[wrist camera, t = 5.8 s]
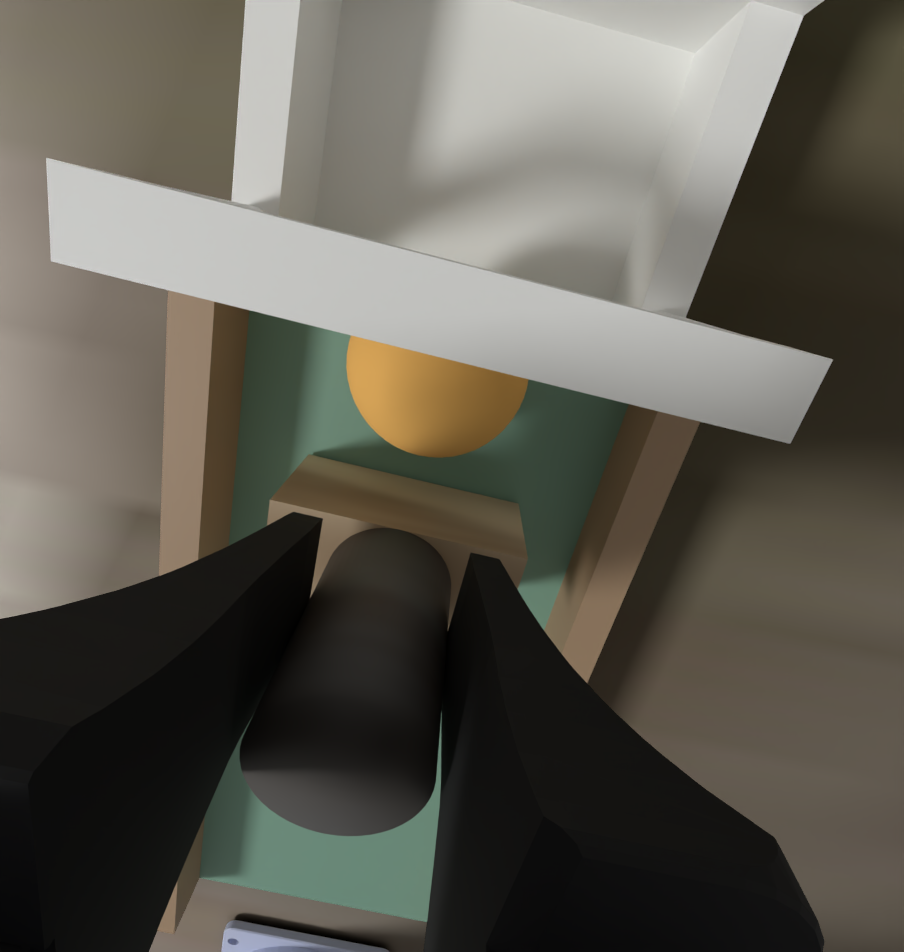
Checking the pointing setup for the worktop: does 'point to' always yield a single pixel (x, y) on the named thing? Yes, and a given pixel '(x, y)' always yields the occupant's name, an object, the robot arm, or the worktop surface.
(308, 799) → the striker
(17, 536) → the worktop surface
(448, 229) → the pitch
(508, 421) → the ball
